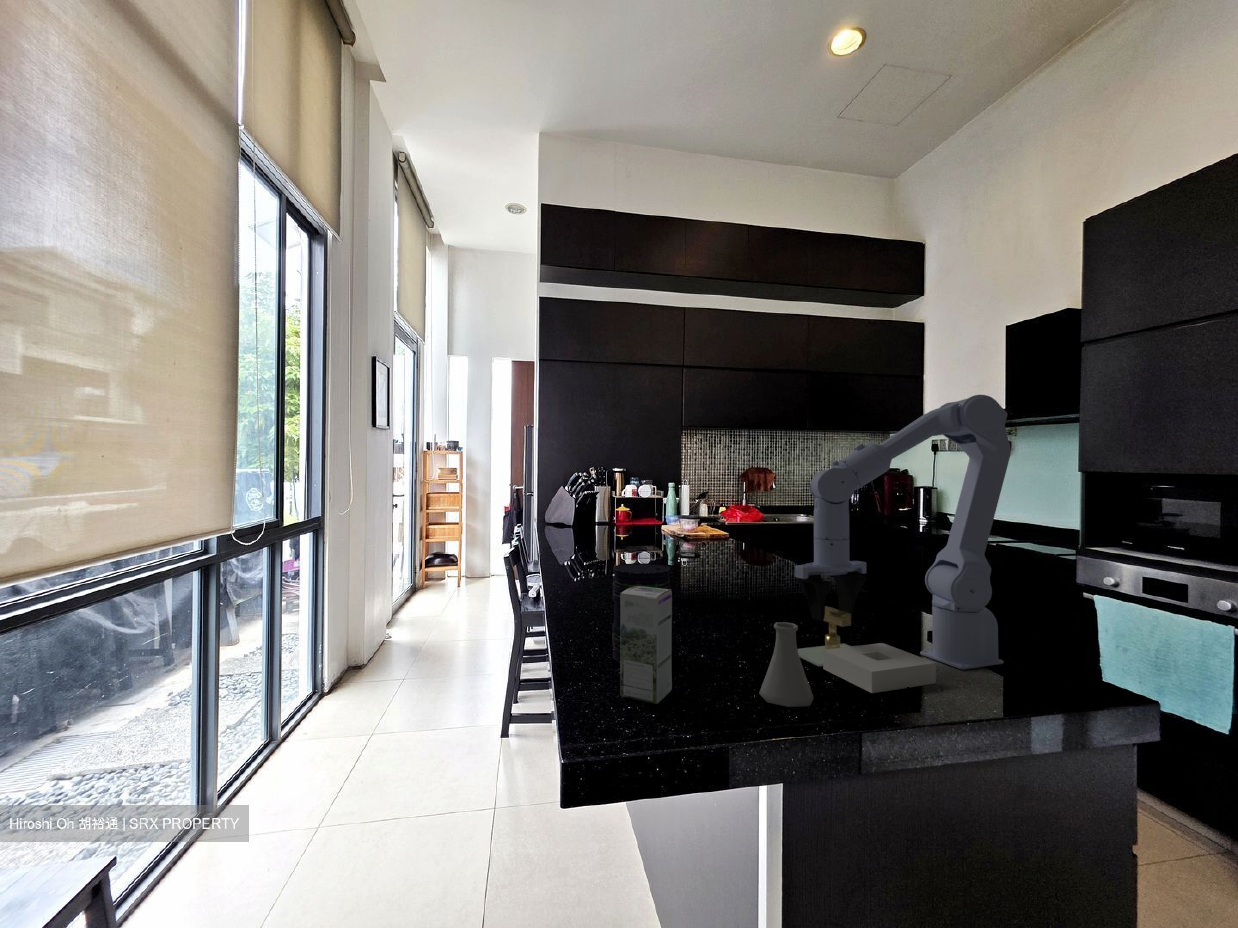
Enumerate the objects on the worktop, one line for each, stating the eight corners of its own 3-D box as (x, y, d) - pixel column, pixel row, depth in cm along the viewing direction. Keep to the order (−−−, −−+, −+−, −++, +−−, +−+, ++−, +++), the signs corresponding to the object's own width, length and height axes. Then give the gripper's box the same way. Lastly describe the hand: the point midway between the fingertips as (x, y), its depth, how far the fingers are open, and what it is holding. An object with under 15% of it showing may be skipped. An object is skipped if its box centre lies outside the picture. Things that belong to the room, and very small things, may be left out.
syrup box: (673, 690, 75) (673, 587, 75) (656, 706, 70) (657, 595, 70) (636, 683, 78) (637, 584, 78) (618, 697, 72) (619, 591, 73)
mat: (844, 645, 96) (844, 643, 96) (876, 658, 89) (876, 657, 89) (788, 651, 92) (788, 650, 92) (818, 666, 85) (818, 664, 85)
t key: (814, 649, 93) (814, 606, 93) (824, 647, 94) (824, 605, 94) (841, 660, 87) (841, 614, 87) (852, 658, 88) (851, 613, 88)
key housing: (882, 661, 88) (882, 643, 88) (935, 683, 78) (935, 662, 78) (823, 669, 84) (823, 649, 84) (871, 693, 74) (871, 671, 74)
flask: (818, 711, 68) (818, 634, 69) (760, 706, 70) (760, 630, 70) (809, 689, 76) (809, 619, 76) (757, 685, 77) (757, 616, 77)
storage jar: (603, 662, 86) (604, 570, 87) (622, 644, 96) (622, 561, 96) (662, 669, 83) (663, 574, 84) (675, 650, 92) (676, 565, 93)
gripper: (816, 542, 84) (817, 628, 84) (881, 539, 90) (881, 619, 90) (786, 538, 91) (786, 617, 90) (848, 535, 97) (848, 609, 96)
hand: (831, 617), depth 91 cm, fingers open, 6 cm apart
